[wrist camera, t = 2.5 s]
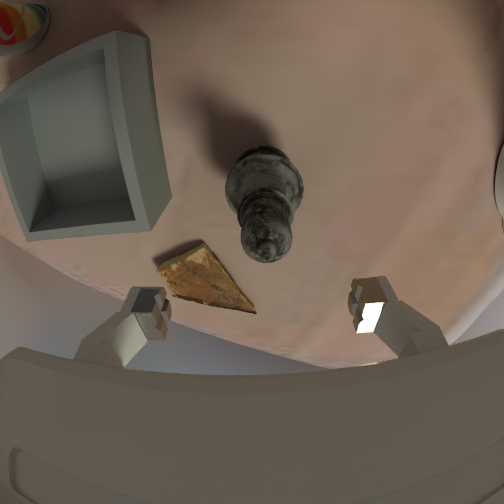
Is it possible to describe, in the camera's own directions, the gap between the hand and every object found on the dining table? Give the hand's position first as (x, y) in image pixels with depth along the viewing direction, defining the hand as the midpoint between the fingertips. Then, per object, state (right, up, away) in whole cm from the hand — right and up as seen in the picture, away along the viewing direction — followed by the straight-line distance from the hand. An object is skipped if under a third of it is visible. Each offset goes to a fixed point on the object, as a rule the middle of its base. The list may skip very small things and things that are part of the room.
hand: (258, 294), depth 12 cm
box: (-16, +13, +9) cm, 22 cm away
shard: (-5, 0, +19) cm, 19 cm away
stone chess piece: (+1, +8, +12) cm, 14 cm away
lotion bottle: (-23, +25, +1) cm, 33 cm away
